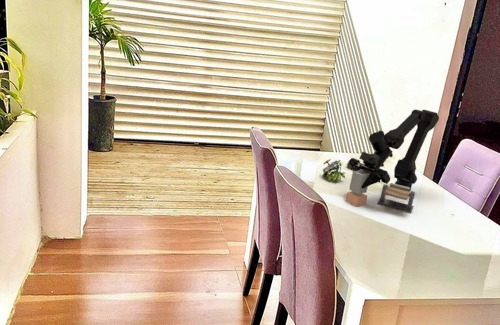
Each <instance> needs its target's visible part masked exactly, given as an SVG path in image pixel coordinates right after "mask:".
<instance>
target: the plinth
mask: <svg viewBox="0 0 500 325" xmlns="http://www.w3.org/2000/svg"><path fill="white" fill-rule="evenodd" d="M367 198H368V194H366V193H361V194H358V193H355V192H353V191H351V190H349V191H347V192H346V195H345V198H344V199H345V200H344V201H345V202H346V203H348V204H350V205H353V206H354V207H360V206H364V205H367V204H366V203H367Z"/></svg>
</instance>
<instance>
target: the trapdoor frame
mask: <svg viewBox="0 0 500 325" xmlns="http://www.w3.org/2000/svg"><path fill="white" fill-rule="evenodd" d="M388 186H389V185H388V184H386V183H384V184H383V185H382V189H381V192H380V193H381V194H380V197H379V199H378V200H377V202H376V205H379V206H381V207H385V208H386V207H387V208H391V209H394V210H398V211H400V212H404V213H408V214H412V212H413V209H414V205H413V203H414V198H415V195H416V191H412V190H411V191H410V196H408V200H407V203H403V202H400V201H396V200H391V199H388V198H386V195H384V192H385V190H386V189H387V187H388Z"/></svg>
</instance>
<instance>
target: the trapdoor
mask: <svg viewBox="0 0 500 325" xmlns="http://www.w3.org/2000/svg"><path fill="white" fill-rule="evenodd" d="M410 193H411V191H410V188H409V187H405V186H401V185H397V184H395V183H392V182H389V185H388V187H387V189H386V190H385V192H384V195H385V196H387V197H388V196H389V197H390V198H391V197H392V198H396V199H399V200H404V201H408V199H409V197H410V196H409V194H410Z"/></svg>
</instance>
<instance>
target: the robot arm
mask: <svg viewBox="0 0 500 325" xmlns="http://www.w3.org/2000/svg"><path fill="white" fill-rule="evenodd" d="M439 117H440V116H439V114H438V112H435V111H432V110H431V111H430V110H428V109H422V110H420V109H413V110H412V111H411V112H410V114H409V115H408V116H407V117H406V119H404V120H403V121H402V122H401V123H400V124H399V125H398V126H397V127H396V128H393V129H391V130H388V132H386V133H385V132H384V130H381V129H380V130H378V131H376V132H372V134H370V135H369V137H368V142H370V145H371V147H372V149H373V150H374V152H373V153H367V152H365V151H362V152H361V153H360V155H359V157H358V158H359V159H357V158H355V157H351V158H350V159H349V160H348V161H347V163H349V164H350V166H351V168H350V169H352V170H353V171H359V170H361V171H362V170H364V171H367V172H369V173H370V175H369V177H368V178H367V180H366V181H365V182H364V184H363V185H362V189H363V188H365V187H367V186H368V187H369V186H372V185H375V184H377V183H381V182H382V183H384V184H385V185H388V184H389V183H390V181H391V176H390V173H389V172H388V170H385V169H383V168H384V167H385V164H384V163H385V162H386V161H387V159H388V158H389V157H390V158H393V155H394V154H393V150H391V149H394V150H398V149H400V148H401V147H402V145H403V144H404V142H405V137H406V136H407V135H408V134H409V133H410V132H411V131H412V130H413V129H414V128H415V127H416V126H417V128H416V130H415V132H414V134H413V137H412V139H411V141H410V143H409V146H408V148H407V150H406V153H405V156H404V157H403V158H402V159H398V160H397V162H396V165H395V166H394V170H393V171H394V172H393V174H394V175H393V176H394V178H395V179H396V181H395V182H394V184H397V185H401V186H405V187H409V188H410V192H411V191H412V190H411V189H412V186H413V185H415V184H416V183H417V181H418V177H417V174H416V171H417V166H416V160H417V159H418V156H419V153H420V152H421V149H422V146H423V145H424V142H425V139H426V138H427V136H428V133H429V132H430V131H431V130H433V129H434V128H435V127H436V125H437V123H438V122H439V119H440V118H439ZM360 160H362V162H361V161H360ZM361 163H363V164H365V165H362V164H361ZM381 167H382V168H381ZM368 187H367V188H368ZM408 197H410V194H409V196H408Z"/></svg>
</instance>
